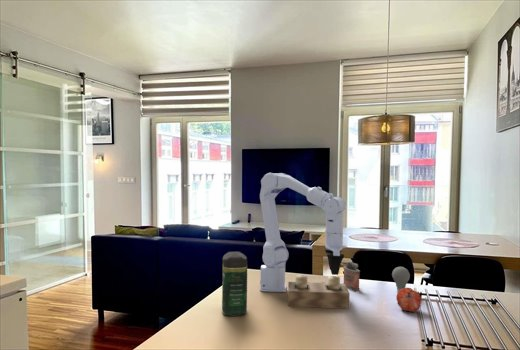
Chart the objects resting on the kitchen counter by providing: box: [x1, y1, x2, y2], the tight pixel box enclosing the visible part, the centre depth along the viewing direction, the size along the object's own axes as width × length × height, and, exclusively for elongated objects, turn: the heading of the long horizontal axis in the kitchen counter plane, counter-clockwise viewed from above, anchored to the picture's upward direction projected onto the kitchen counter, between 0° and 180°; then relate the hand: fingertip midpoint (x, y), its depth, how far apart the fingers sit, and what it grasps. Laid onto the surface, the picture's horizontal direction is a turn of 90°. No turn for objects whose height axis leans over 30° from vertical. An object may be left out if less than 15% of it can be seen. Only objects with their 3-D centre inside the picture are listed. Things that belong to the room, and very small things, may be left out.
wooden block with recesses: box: [287, 281, 351, 309], centre depth 121 cm, size 20×10×5 cm, turn 85°
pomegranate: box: [396, 287, 422, 313], centre depth 115 cm, size 7×7×10 cm
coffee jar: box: [221, 251, 248, 317], centre depth 113 cm, size 10×8×19 cm
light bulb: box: [391, 266, 411, 293], centre depth 130 cm, size 6×6×10 cm
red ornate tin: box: [342, 260, 361, 292], centre depth 136 cm, size 8×3×10 cm, turn 25°
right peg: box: [327, 275, 341, 290], centre depth 121 cm, size 4×4×5 cm
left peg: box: [295, 274, 308, 289], centre depth 122 cm, size 4×4×5 cm
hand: (333, 272), depth 121 cm, fingers open, 5 cm apart
